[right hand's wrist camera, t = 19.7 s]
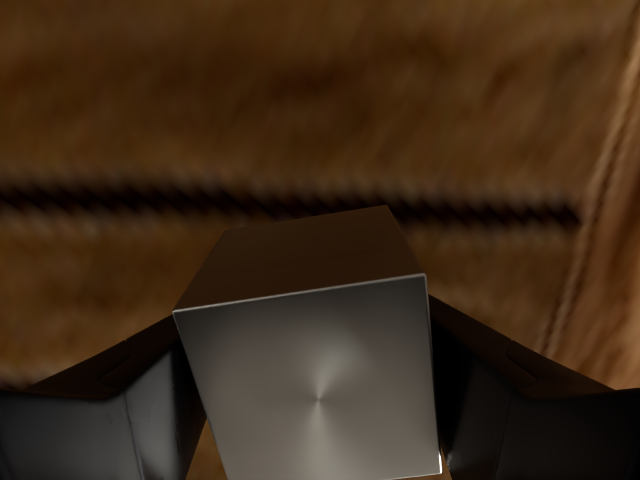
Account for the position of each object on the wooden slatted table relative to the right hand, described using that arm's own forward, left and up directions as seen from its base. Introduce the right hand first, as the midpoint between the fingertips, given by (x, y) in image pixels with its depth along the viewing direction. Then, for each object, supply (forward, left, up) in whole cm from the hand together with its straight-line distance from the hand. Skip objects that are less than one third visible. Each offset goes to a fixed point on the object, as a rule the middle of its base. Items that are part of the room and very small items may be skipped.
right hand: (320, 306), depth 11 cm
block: (0, 0, -1) cm, 1 cm away
